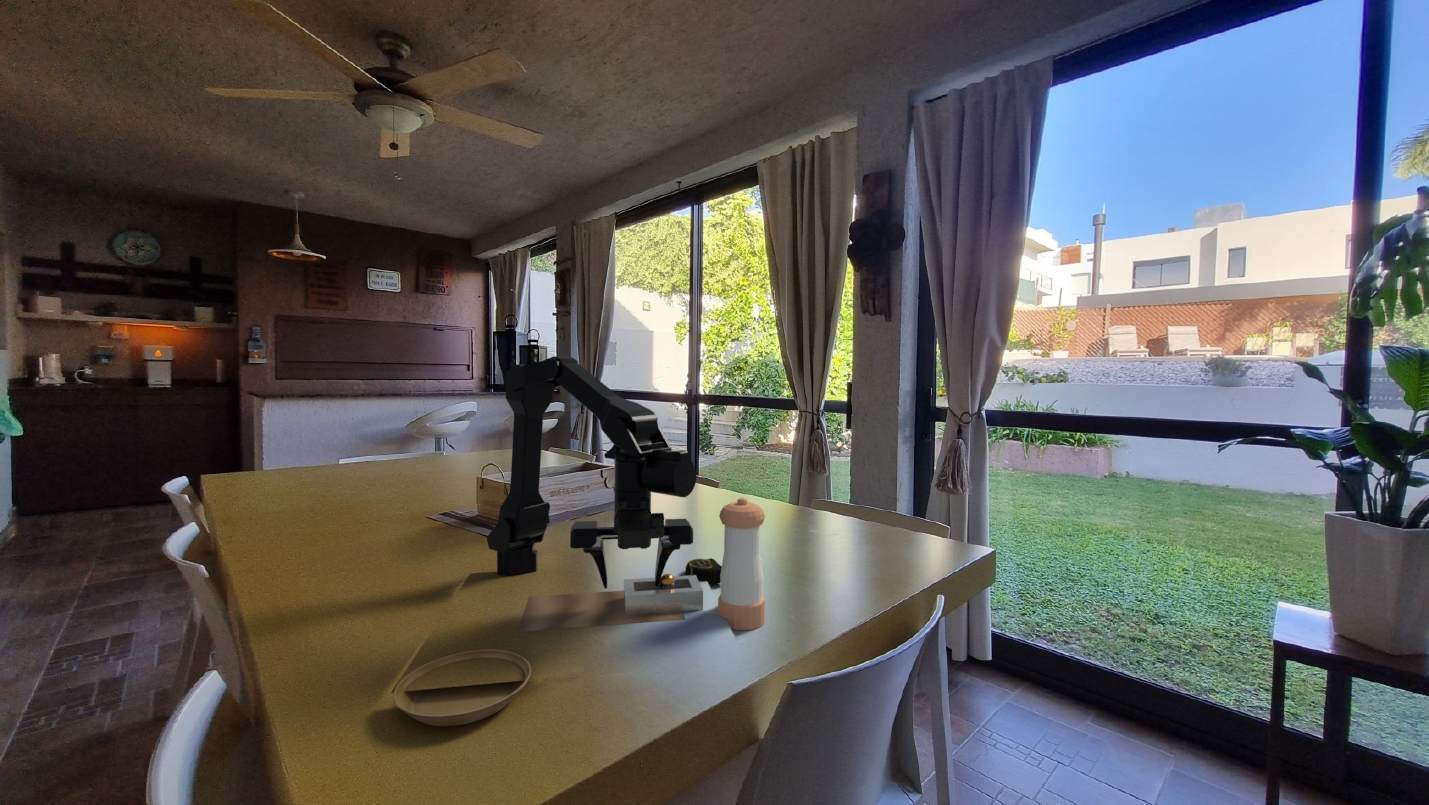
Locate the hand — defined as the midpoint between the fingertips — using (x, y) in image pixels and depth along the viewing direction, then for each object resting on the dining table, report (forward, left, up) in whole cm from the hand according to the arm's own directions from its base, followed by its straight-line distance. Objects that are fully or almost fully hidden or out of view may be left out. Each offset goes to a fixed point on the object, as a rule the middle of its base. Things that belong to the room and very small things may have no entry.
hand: (631, 586), depth 91 cm
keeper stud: (+6, 0, -3) cm, 7 cm away
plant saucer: (-20, -20, -5) cm, 29 cm away
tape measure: (+14, +12, -5) cm, 20 cm away
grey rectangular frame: (+5, 0, -3) cm, 6 cm away
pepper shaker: (+17, -5, -5) cm, 18 cm away
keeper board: (-4, 0, -5) cm, 6 cm away
